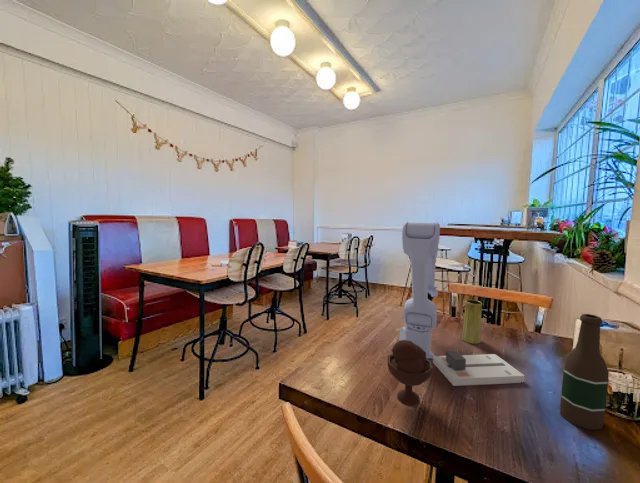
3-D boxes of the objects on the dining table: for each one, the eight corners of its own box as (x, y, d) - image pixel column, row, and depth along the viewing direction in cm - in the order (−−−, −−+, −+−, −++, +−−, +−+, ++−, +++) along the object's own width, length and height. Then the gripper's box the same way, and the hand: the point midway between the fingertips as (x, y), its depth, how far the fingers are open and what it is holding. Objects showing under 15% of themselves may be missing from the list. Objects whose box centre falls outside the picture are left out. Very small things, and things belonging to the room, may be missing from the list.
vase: (479, 345, 102) (482, 305, 100) (460, 340, 105) (462, 302, 104) (482, 339, 107) (484, 301, 105) (463, 335, 110) (466, 298, 109)
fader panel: (453, 385, 79) (454, 378, 78) (432, 362, 90) (433, 356, 90) (524, 382, 80) (524, 375, 80) (494, 360, 92) (495, 353, 92)
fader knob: (454, 369, 82) (455, 359, 82) (445, 360, 87) (446, 351, 87) (465, 369, 82) (465, 359, 82) (455, 360, 87) (456, 350, 87)
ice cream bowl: (426, 419, 66) (429, 355, 64) (379, 401, 72) (380, 343, 70) (436, 394, 75) (439, 337, 73) (393, 380, 81) (395, 328, 79)
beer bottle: (594, 436, 61) (607, 325, 59) (551, 413, 68) (561, 313, 66) (610, 424, 65) (623, 319, 62) (567, 403, 72) (578, 307, 69)
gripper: (447, 278, 101) (445, 316, 103) (428, 270, 116) (426, 303, 117) (427, 279, 101) (425, 317, 102) (410, 270, 115) (409, 304, 117)
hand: (424, 310), depth 110 cm, fingers closed
